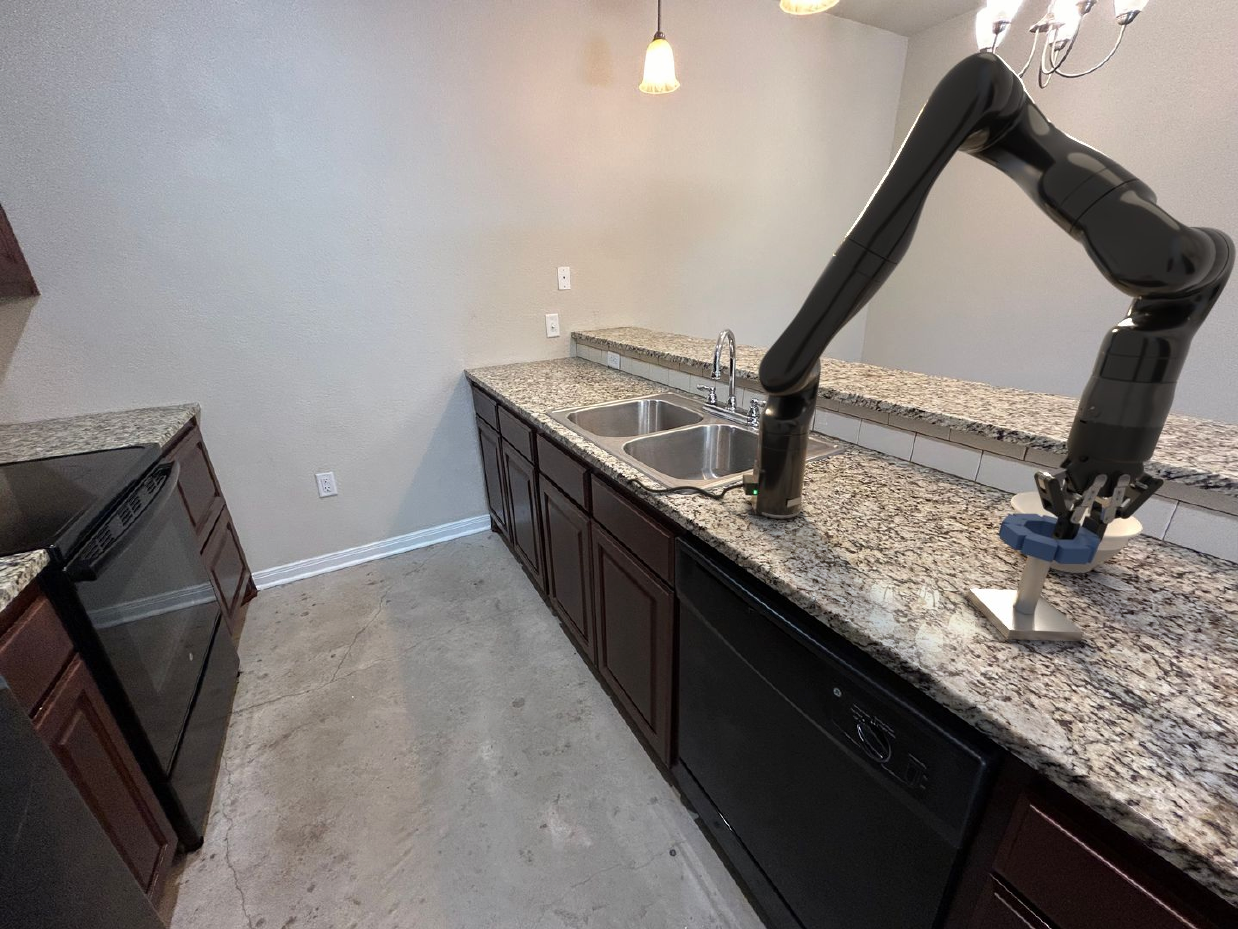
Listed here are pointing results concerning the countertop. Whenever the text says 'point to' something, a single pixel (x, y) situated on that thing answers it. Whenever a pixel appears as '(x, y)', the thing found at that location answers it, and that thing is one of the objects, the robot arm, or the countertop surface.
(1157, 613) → the countertop surface
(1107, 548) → the bowl
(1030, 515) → the ring
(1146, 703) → the countertop surface
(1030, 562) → the metal peg stand
